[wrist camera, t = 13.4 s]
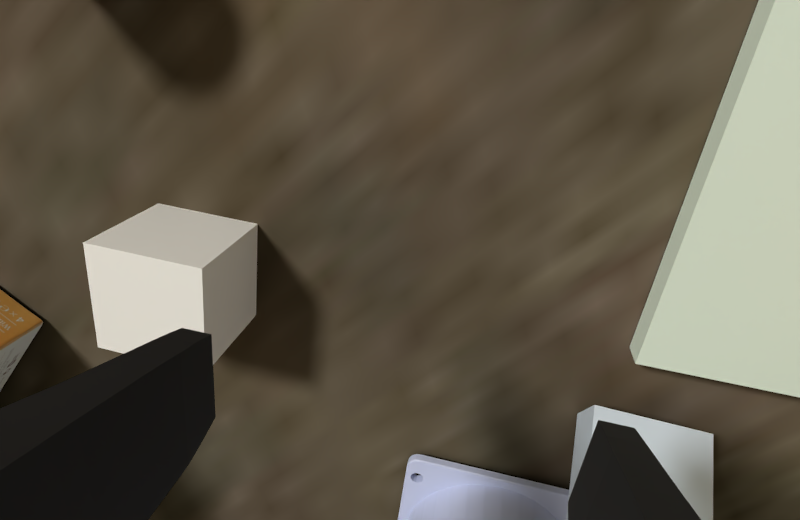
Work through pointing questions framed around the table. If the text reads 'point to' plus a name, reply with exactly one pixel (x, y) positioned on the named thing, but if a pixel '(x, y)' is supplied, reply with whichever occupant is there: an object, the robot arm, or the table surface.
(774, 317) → the board
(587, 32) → the table surface
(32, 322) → the small box
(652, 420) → the grey-blue slab
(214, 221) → the off-white cube
